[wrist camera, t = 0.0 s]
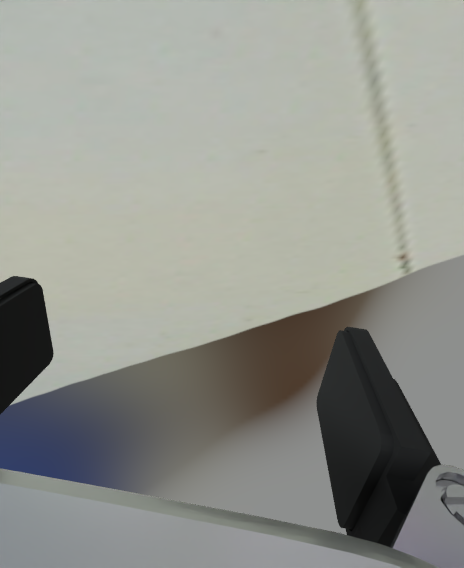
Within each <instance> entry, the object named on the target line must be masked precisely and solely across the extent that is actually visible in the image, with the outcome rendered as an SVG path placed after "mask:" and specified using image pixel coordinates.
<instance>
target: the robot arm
mask: <svg viewBox="0 0 464 568" xmlns="http://www.w3.org/2000/svg"><path fill="white" fill-rule="evenodd" d="M52 358H53V347H52V341H51V336H50V330H49V324H48V318H47V313H46V307H45V301H44V295H43V290H42V287H41V286H40V285H39V284H38V283H37V281H36V280H34V279H31V278H25V277H18V276H13V277H10V278H9V279H7V280H5V281H3V282H1V283H0V414H1V413H2V412H3V411H4V410H5V409H6V408H7V407H8V406H9V405H10V404H11V403H12V402H13V401H14V400H15V399H16V398H17V397H18V396H19V395H20V394H21V393H22V392H23V391H24V389H25V388H26V387H27V386H28V385H29V384H30V383H31V382H32V381H33V380H34V379H35V378H36V377H37V376H38V375H39V374H40V373H41V372H42V371H43V370H44V369H45V368H46V367H47V366H48V365H49V364H50V362H51V360H52ZM317 411H318V416H319V421H320V427H321V433H322V438H323V444H324V449H325V454H326V460H327V465H328V471H329V476H330V481H331V487H332V492H333V498H334V502H335V509H336V514H337V519H338V523H339V525H340V527H341V528H346V532H347V535H344V534H340V533H336V532H332V531H327V530H322V529H317V528H312V527H307V526H302V525H298V524H293V523H288V522H283V521H279V520H273V519H268V518H264V517H259V516H254V515H249V514H243V513H238V512H233V511H227V510H222V509H216V508H211V507H206V506H201V505H196V504H190V503H185V502H180V501H174V500H169V499H164V498H159V497H153V496H148V495H142V494H137V493H132V492H126V491H120V490H115V489H110V488H104V487H99V486H94V485H88V484H82V483H77V482H71V481H66V480H61V479H55V478H49V477H44V476H38V475H33V474H28V473H22V472H16V471H11V470H6V469H0V568H464V470H463V469H459V468H457V467H454V466H450V465H441V464H440V462H439V460H438V458H437V456H436V454H435V452H434V451H433V449H432V447H431V445H430V443H429V441H428V439H427V437H426V435H425V434H424V432H423V430H422V428H421V426H420V424H419V422H418V420H417V419H416V417H415V415H414V413H413V411H412V409H411V408H410V406H409V404H408V402H407V400H406V398H405V396H404V394H403V393H402V390H401V389H400V387H399V385H398V383H397V382H396V381H395V379H393V378H392V376H391V374H390V372H389V370H388V368H387V366H386V364H385V363H384V361H383V359H382V357H381V355H380V353H379V351H378V349H377V347H376V345H375V343H374V342H373V340H372V338H371V336H370V334H369V332H368V331H367V330H364V329H359V328H352V327H346V328H345V330H344V331H341V330H340V331H339V332H338V333H337V336H336V339H335V342H334V346H333V349H332V352H331V355H330V359H329V361H328V364H327V368H326V371H325V374H324V377H323V380H322V383H321V387H320V390H319V393H318V396H317Z"/></svg>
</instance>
